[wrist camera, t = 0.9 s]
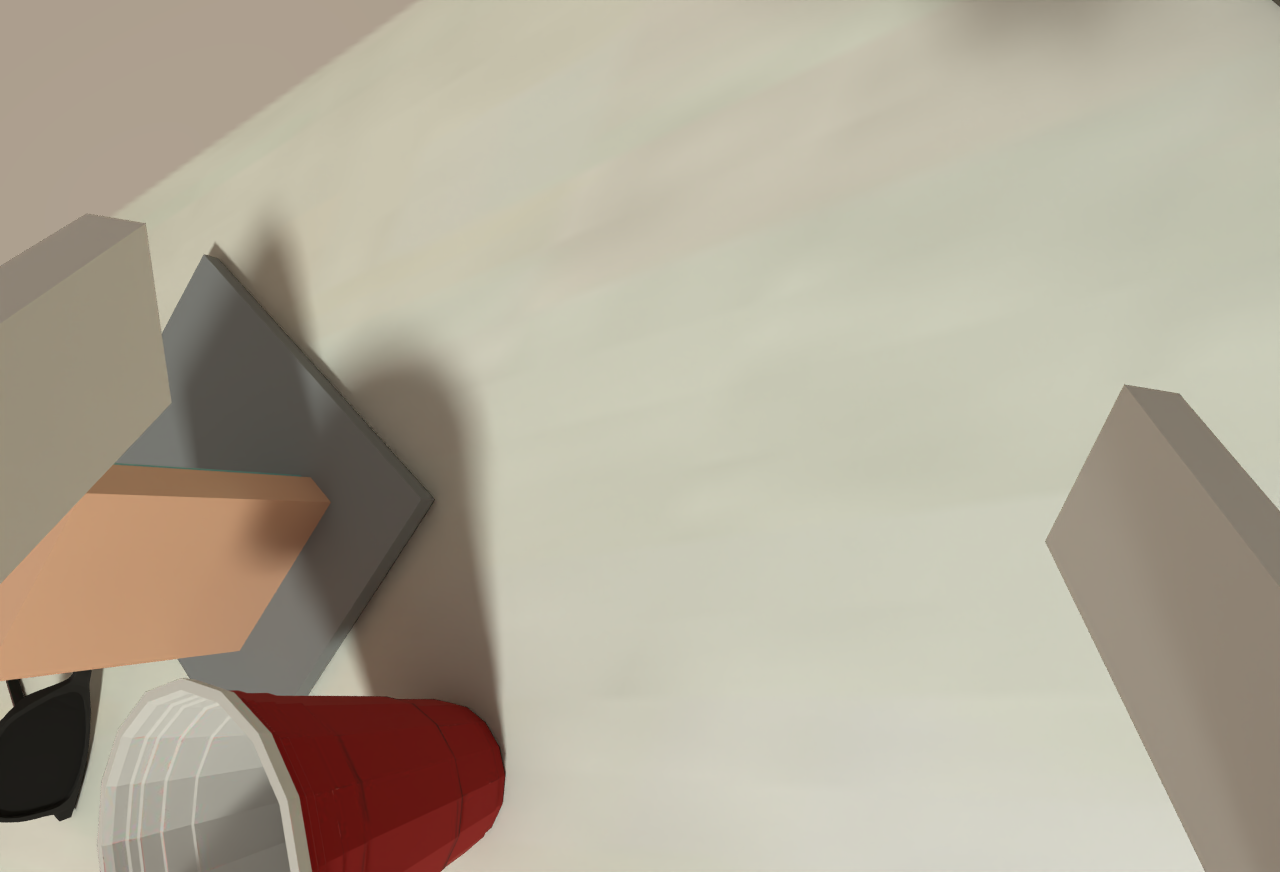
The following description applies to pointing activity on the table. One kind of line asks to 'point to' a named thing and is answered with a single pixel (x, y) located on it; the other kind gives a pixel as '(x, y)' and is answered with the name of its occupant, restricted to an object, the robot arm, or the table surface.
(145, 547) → the tile
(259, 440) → the mat
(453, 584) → the table surface
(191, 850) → the plastic cup
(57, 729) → the sunglasses
